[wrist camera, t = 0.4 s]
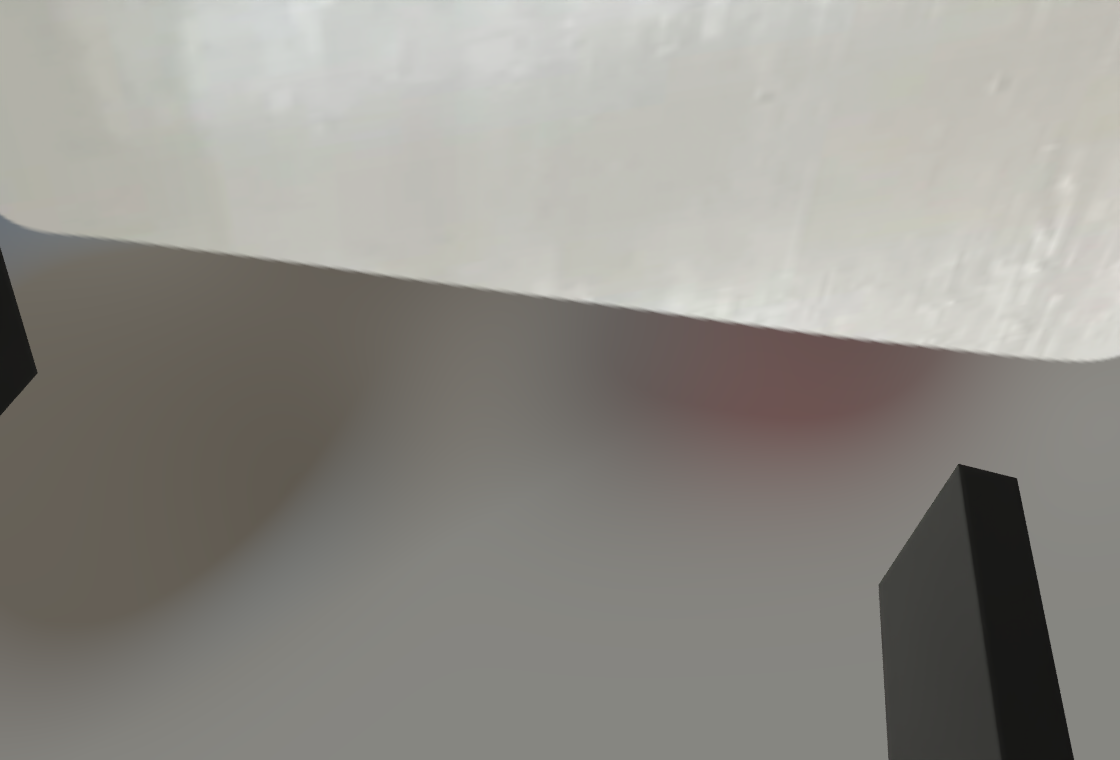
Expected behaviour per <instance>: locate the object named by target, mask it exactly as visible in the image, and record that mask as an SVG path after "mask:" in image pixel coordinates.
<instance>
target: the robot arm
mask: <svg viewBox="0 0 1120 760" xmlns="http://www.w3.org/2000/svg"><path fill="white" fill-rule="evenodd" d="M36 374H37V369H36V366H35V363H34V360H33V356H32V353H31V349H30V346H29V343H28V339H27V336H26V333H25V329H24V326H23V322H22V319H21V316H20V312H19V309H18V306H17V302H16V299H15V295H14V292H13V289H12V286H11V282H10V279H9V276H8V272H7V269H6V265H5V262H4V259H3V255H2V252H1V249H0V415H1V414H2V413H3V412H4V411H5V410H6V408H7V407H8V406H9V405H10V404H11V403H12V402H13V400H14V399H15V398H16V397H17V396H18V395H19V394H20V392H21V391H22V390H23V389H24V388H25V387H26V386H27V384H28V383H29V382H30V381H31V380H32V379H33V377H34V376H35V375H36ZM879 600H880V616H881V635H882V652H883V670H884V688H885V705H886V723H887V738H888V739H887V740H888V758H889V760H1074V758H1073V753H1072V748H1071V743H1070V738H1069V733H1068V728H1067V723H1066V718H1065V714H1064V708H1063V703H1062V698H1061V694H1060V689H1059V684H1058V679H1057V674H1056V669H1055V664H1054V659H1053V654H1052V649H1051V644H1050V640H1049V635H1048V629H1047V625H1046V620H1045V615H1044V610H1043V605H1042V600H1041V595H1040V590H1039V585H1038V580H1037V575H1036V570H1035V565H1034V560H1033V556H1032V551H1031V546H1030V541H1029V536H1028V531H1027V526H1026V521H1025V516H1024V511H1023V506H1022V501H1021V496H1020V491H1019V486H1018V481H1017V478H1014V477H1009V476H1005V475H1001V474H997V473H993V472H989V471H985V470H981V469H977V468H973V467H969V466H965V465H961V464H958V465H957V467H956V468H955V470H954V472H953V473H952V475H951V476H950V478H949V479H948V481H947V482H946V484H945V485H944V487H943V488H942V490H941V491H940V493H939V494H938V496H937V497H936V499H935V500H934V502H933V503H932V505H931V507H930V508H929V509H928V511H927V512H926V514H925V515H924V517H923V519H922V520H921V522H920V523H919V525H918V526H917V528H916V529H915V531H914V532H913V534H912V535H911V537H910V538H909V540H908V541H907V543H906V544H905V546H904V547H903V549H902V550H901V552H900V553H899V555H898V556H897V558H896V559H895V561H894V562H893V564H892V566H891V567H890V568H889V570H888V572H887V573H886V575H885V576H884V578H883V579H882V581H881V582H880V584H879Z"/></svg>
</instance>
